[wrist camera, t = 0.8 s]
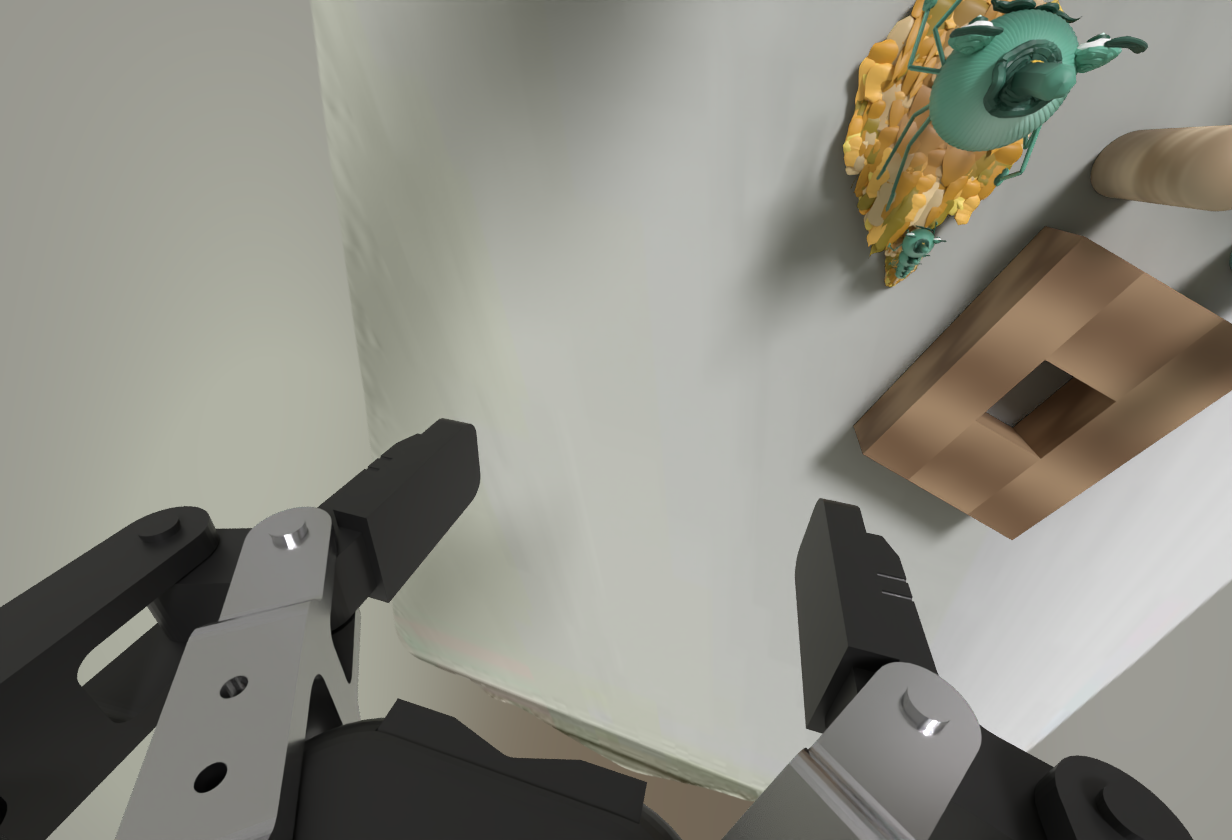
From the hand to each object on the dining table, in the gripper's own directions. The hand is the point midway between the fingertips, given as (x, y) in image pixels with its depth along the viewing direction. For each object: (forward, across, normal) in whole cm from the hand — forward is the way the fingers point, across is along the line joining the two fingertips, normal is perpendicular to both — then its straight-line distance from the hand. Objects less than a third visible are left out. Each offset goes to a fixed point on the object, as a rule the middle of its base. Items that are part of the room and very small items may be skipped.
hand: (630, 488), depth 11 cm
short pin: (+26, -20, -8) cm, 34 cm away
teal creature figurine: (+27, -10, -9) cm, 30 cm away
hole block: (+26, -21, +6) cm, 34 cm away
